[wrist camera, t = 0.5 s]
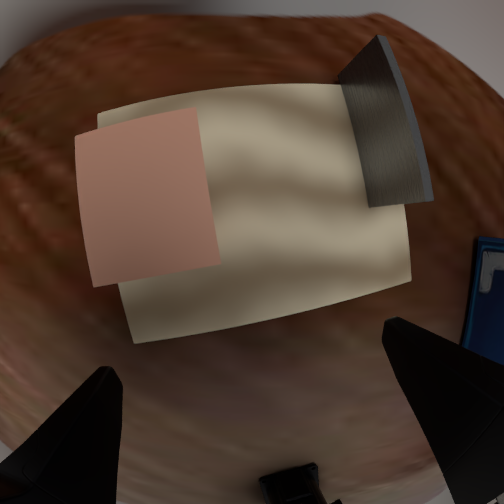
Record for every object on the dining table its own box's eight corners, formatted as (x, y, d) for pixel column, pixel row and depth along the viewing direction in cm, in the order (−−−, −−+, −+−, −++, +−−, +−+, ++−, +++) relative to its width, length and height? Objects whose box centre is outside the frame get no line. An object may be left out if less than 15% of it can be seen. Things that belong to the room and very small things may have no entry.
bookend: (394, 204, 22) (452, 198, 15) (368, 207, 22) (425, 201, 15) (363, 77, 21) (405, 42, 14) (337, 75, 21) (376, 34, 14)
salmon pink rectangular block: (214, 247, 20) (221, 264, 10) (145, 260, 19) (93, 287, 10) (200, 164, 20) (196, 106, 10) (132, 178, 19) (74, 136, 9)
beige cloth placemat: (404, 278, 24) (411, 280, 23) (136, 339, 21) (134, 343, 20) (370, 91, 22) (376, 87, 21) (101, 118, 19) (97, 113, 18)
